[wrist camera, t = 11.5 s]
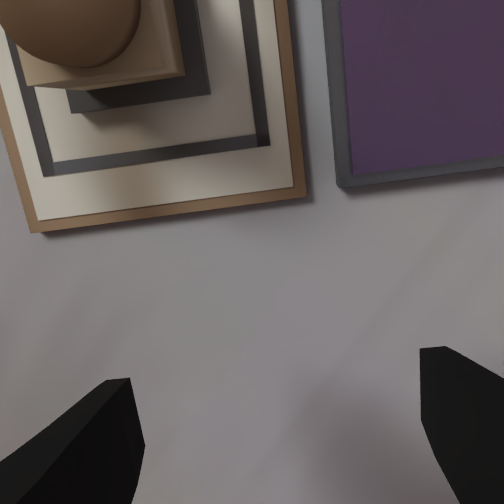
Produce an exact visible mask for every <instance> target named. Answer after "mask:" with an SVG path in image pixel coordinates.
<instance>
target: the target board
mask: <svg viewBox="0 0 504 504" xmlns="http://www.w3.org/2000/svg"><path fill="white" fill-rule="evenodd" d="M197 6H198V12H199V19H200V25H201V32H202V38H203V45H204V51H205V57H206V64H207V70H208V77H209V83H210V90H211V94H210V95H204V96H197V97H190V98H183V99H176V100H169V101H162V102H155V103H149V104H142V105H135V106H128V107H121V108H114V109H107V110H100V111H94V112H87V113H78V114H71V111H70V107H69V103H68V98H67V94H66V90H65V89H58V88H45V87H33V86H27V84H26V80H25V76H24V72H23V68H22V65H21V61H20V57H19V53H18V49H17V46H16V43H15V42H14V41H13V40H12V39H11V38H10V37H9V36H8V35H7V33H6V32H5V31H4V29H3V28H2V26H1V25H0V127H1V131H2V134H3V138H4V141H5V145H6V148H7V152H8V155H9V159H10V162H11V166H12V170H13V173H14V177H15V180H16V184H17V187H18V191H19V194H20V198H21V201H22V205H23V208H24V212H25V215H26V219H27V222H28V226H29V229H30V233H38V232H45V231H53V230H60V229H68V228H75V227H83V226H90V225H98V224H106V223H113V222H121V221H128V220H136V219H143V218H151V217H158V216H166V215H173V214H181V213H189V212H196V211H204V210H211V209H219V208H226V207H234V206H241V205H249V204H256V203H264V202H272V201H279V200H287V199H294V198H302V197H307V192H306V182H305V172H304V162H303V153H302V143H301V133H300V123H299V114H298V104H297V94H296V84H295V74H294V65H293V55H292V45H291V35H290V26H289V16H288V6H287V0H197Z"/></svg>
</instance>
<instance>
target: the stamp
mask: <svg viewBox="0 0 504 504" xmlns="http://www.w3.org/2000/svg"><path fill="white" fill-rule="evenodd" d="M0 25H1V26H2V28H3V29H4V31H5V32H6V33H7V35H8V36H9V37H10V38H11V39H12V40H13V41H14V42H15V43H16V46H17V49H18V53H19V57H20V61H21V65H22V68H23V72H24V76H25V80H26V84H27V86H33V87H45V88H58V89H65V90H66V94H67V98H68V103H69V107H70V111H71V114H78V113H87V112H94V111H100V110H107V109H114V108H121V107H128V106H135V105H142V104H149V103H155V102H162V101H169V100H176V99H183V98H190V97H197V96H204V95H210V94H211V90H210V83H209V77H208V70H207V64H206V57H205V51H204V45H203V38H202V32H201V25H200V19H199V12H198V6H197V0H0Z"/></svg>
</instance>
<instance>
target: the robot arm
mask: <svg viewBox="0 0 504 504" xmlns="http://www.w3.org/2000/svg"><path fill="white" fill-rule="evenodd" d="M420 394H421V421H422V424H423V427H424V429H425V432H426V435H427V437H428V440H429V443H430V445H431V448H432V450H433V453H434V455H435V458H436V460H437V462H438V463H439V465H440V467H441V469H442V471H443V473H444V475H445V477H446V478H447V480H448V482H449V484H450V486H451V488H452V490H453V491H454V493H455V495H456V497H457V499H458V501H459V503H460V504H504V378H502V377H500V376H498V375H497V374H495V373H493V372H491V371H490V370H488V369H486V368H484V367H482V366H481V365H479V364H477V363H476V362H474V361H472V360H470V359H469V358H467V357H465V356H463V355H461V354H460V353H458V352H456V351H454V350H452V349H450V348H448V347H446V346H441V347H431V348H421V349H420ZM144 449H145V443H144V438H143V434H142V429H141V425H140V420H139V416H138V412H137V407H136V403H135V398H134V394H133V389H132V385H131V381H130V378H122V379H112V380H106V381H104V382H103V383H101V384H100V385H98V386H97V387H96V388H94V389H93V390H92V391H91V392H89V393H88V394H87V395H86V396H84V397H83V398H82V399H81V400H80V401H78V402H77V403H76V404H75V405H74V406H72V407H71V408H70V409H69V410H67V411H66V412H65V413H64V414H62V415H61V416H60V417H59V418H58V419H56V420H55V421H54V422H53V423H51V424H50V425H49V426H48V427H46V428H45V429H44V430H42V431H41V432H40V433H38V434H37V435H36V436H34V437H33V438H32V439H30V440H29V441H28V442H26V443H25V444H24V445H22V446H21V447H20V448H18V449H17V450H16V451H15V452H13V453H12V454H10V455H9V456H8V457H6V458H5V459H3V460H2V461H0V504H131V503H132V500H133V497H134V494H135V491H136V488H137V485H138V480H139V475H140V471H141V466H142V460H143V455H144Z"/></svg>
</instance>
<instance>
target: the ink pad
mask: <svg viewBox="0 0 504 504" xmlns="http://www.w3.org/2000/svg"><path fill="white" fill-rule="evenodd" d="M321 3H322V15H323V27H324V39H325V51H326V63H327V75H328V87H329V99H330V111H331V123H332V135H333V148H334V160H335V172H336V184H337V186H338V187H339V188H347V187H354V186H362V185H369V184H377V183H384V182H392V181H399V180H407V179H414V178H422V177H429V176H437V175H444V174H452V173H460V172H467V171H475V170H482V169H490V168H497V167H504V0H321Z"/></svg>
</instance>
